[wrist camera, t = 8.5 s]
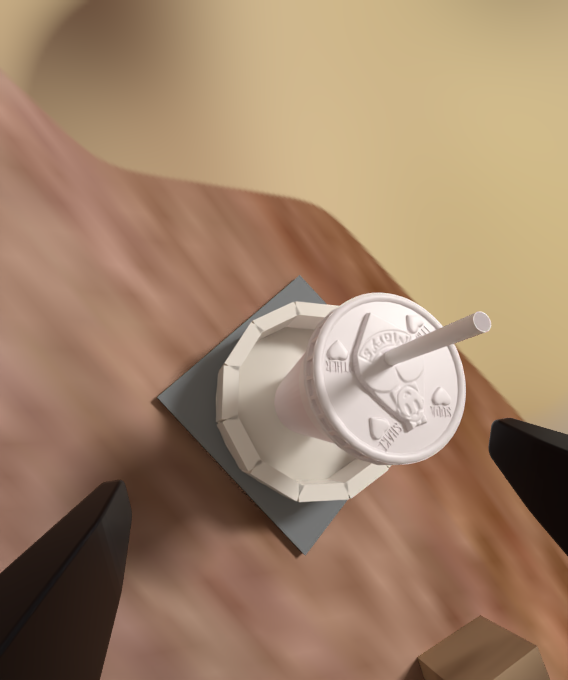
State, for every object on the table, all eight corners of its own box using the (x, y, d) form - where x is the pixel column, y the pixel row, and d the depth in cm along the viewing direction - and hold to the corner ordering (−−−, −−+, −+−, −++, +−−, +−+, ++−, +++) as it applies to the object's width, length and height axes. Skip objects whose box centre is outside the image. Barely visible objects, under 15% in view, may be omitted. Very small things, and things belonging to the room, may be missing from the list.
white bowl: (384, 489, 23) (414, 495, 20) (211, 498, 20) (218, 506, 17) (372, 326, 26) (397, 312, 23) (219, 312, 23) (226, 293, 20)
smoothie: (328, 337, 24) (516, 210, 11) (368, 432, 23) (625, 415, 10) (235, 370, 22) (337, 256, 9) (275, 477, 21) (456, 528, 8)
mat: (416, 405, 26) (419, 404, 25) (302, 553, 21) (305, 555, 21) (297, 277, 26) (299, 275, 25) (157, 398, 21) (157, 397, 21)
